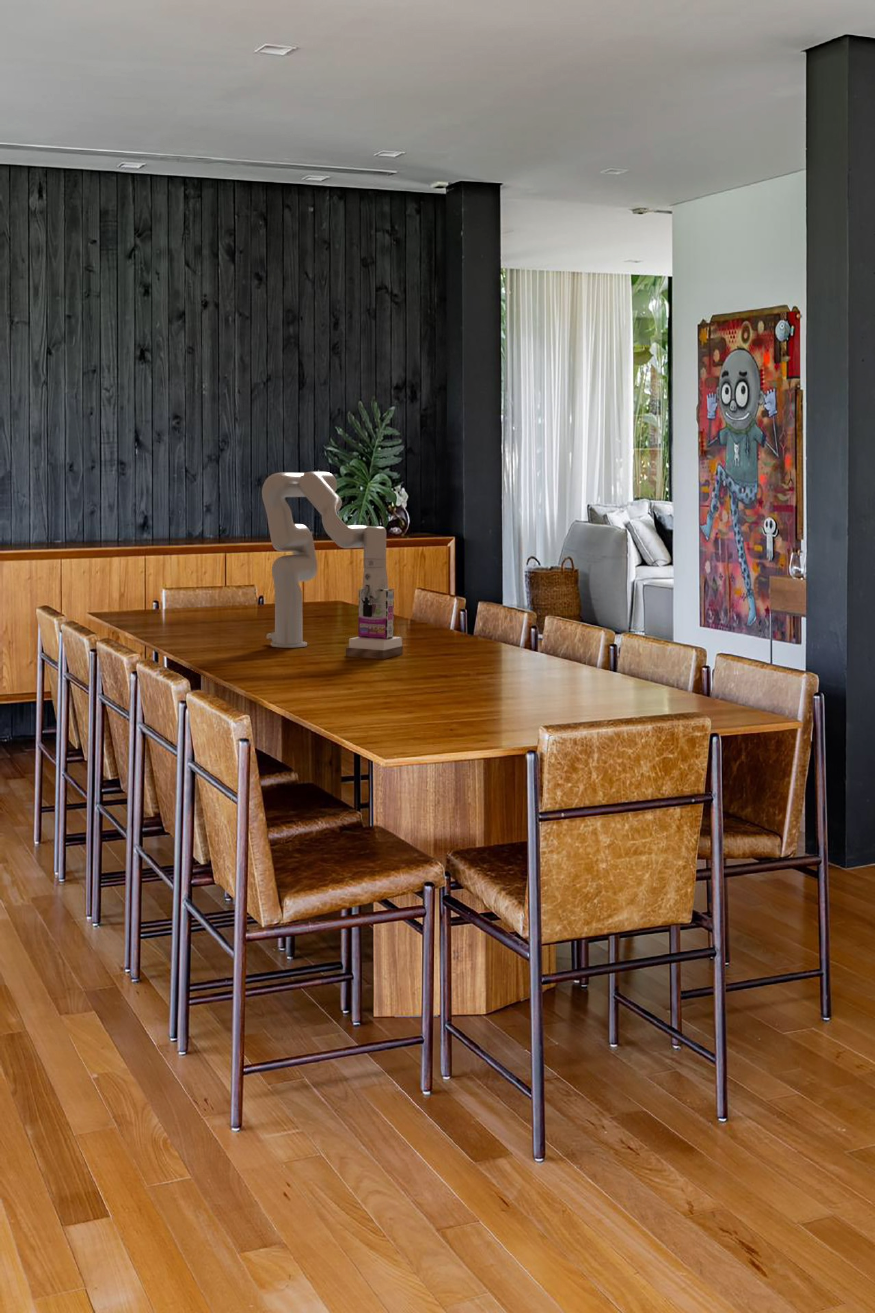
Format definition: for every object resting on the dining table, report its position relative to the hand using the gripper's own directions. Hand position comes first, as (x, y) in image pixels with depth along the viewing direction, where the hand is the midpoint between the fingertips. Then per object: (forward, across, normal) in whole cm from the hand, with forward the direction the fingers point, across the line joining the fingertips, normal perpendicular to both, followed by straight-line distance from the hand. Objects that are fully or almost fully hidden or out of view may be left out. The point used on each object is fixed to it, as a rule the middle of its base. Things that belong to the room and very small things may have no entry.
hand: (374, 615), depth 471 cm
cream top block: (+11, 0, 0) cm, 11 cm away
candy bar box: (+8, +1, 0) cm, 8 cm away
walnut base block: (+14, 0, 0) cm, 14 cm away
